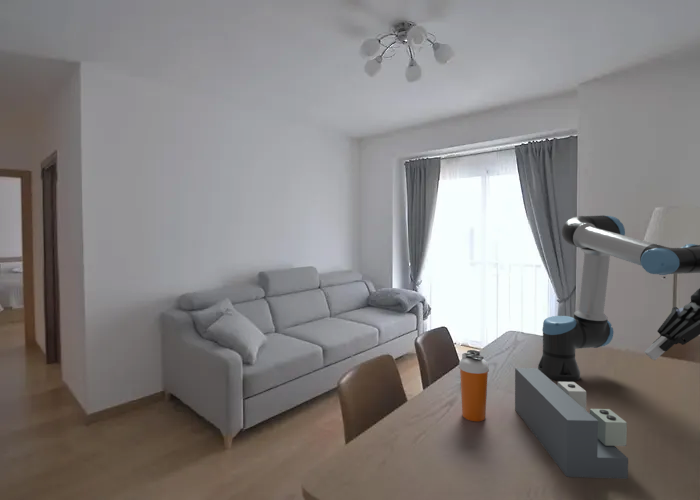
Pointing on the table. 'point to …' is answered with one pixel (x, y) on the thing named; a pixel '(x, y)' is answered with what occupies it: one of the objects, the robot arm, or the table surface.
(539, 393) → the grey stepped stand
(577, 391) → the key one
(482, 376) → the shaker bottle
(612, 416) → the key two
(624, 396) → the table surface
